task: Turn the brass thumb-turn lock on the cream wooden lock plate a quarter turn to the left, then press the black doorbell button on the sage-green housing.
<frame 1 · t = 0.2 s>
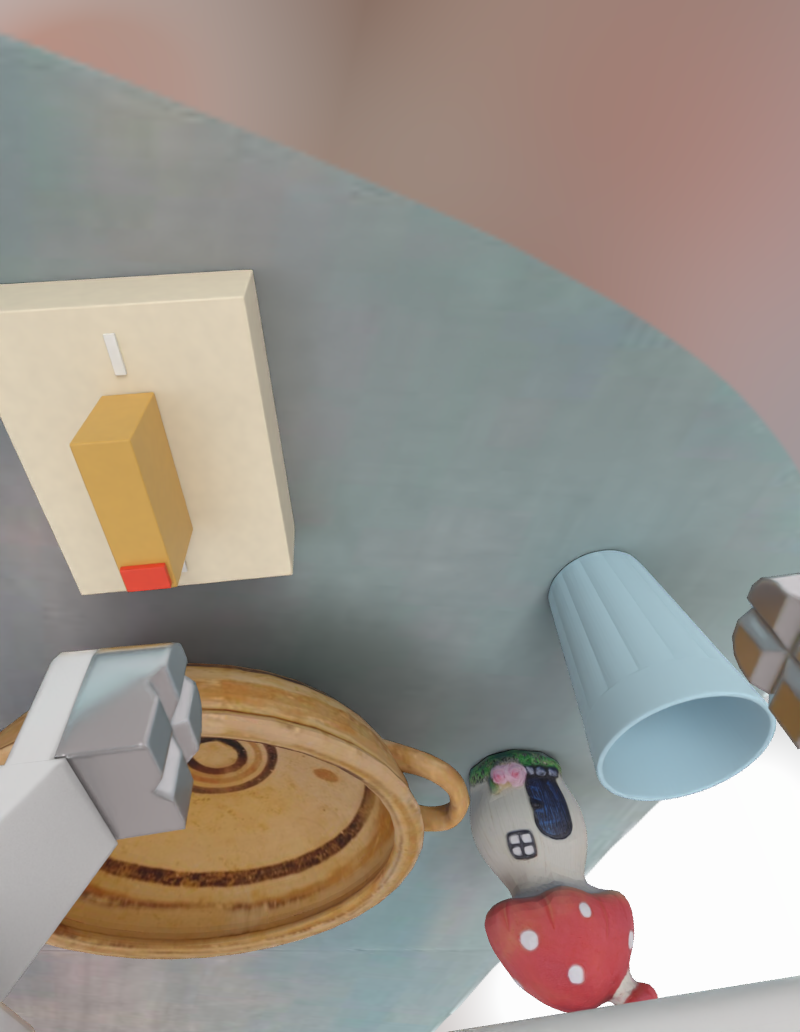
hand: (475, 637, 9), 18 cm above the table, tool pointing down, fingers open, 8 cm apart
cup: (594, 584, 34), on the table
ceramic bowl: (213, 729, 38), on the table
lock knob: (139, 495, 21), point 5 cm above the table, hinge at 0.0°
decorative ornament: (516, 771, 45), on the table
lock plate: (169, 424, 26), on the table
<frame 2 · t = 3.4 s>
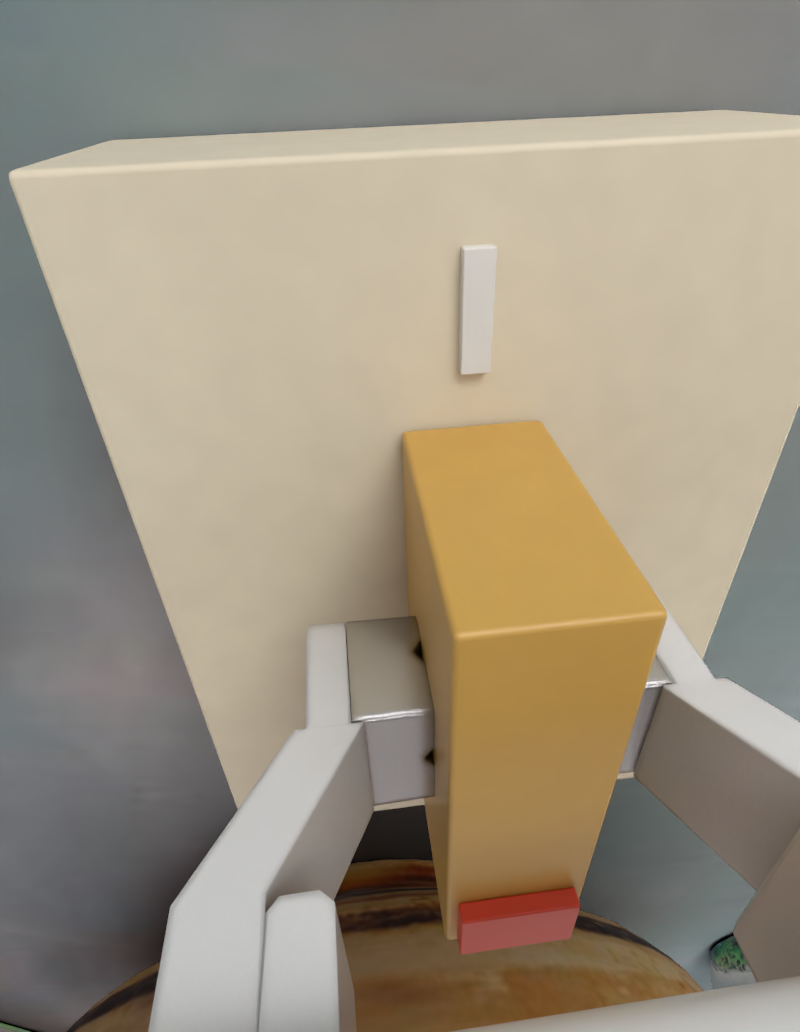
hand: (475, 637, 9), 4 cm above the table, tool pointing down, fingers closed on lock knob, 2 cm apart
ceramic bowl: (371, 921, 25), on the table
lock knob: (494, 696, 8), point 5 cm above the table, hinge at 0.0°, touching gripper
decorative ornament: (770, 939, 31), on the table
lock plate: (429, 476, 12), on the table
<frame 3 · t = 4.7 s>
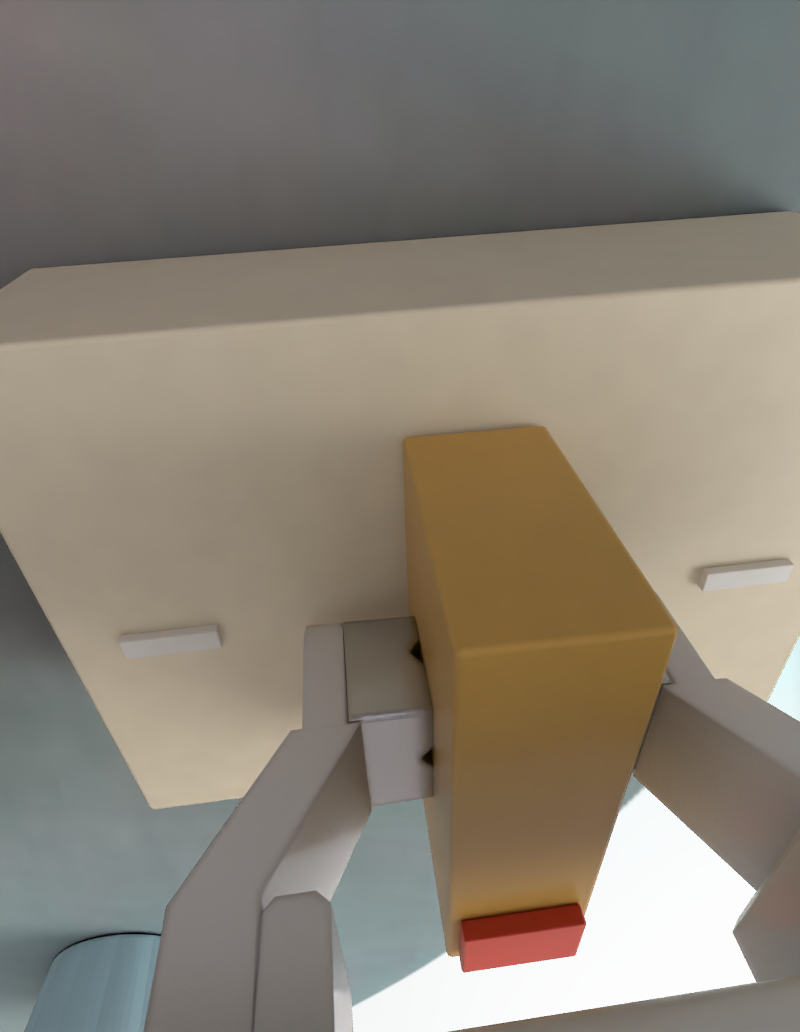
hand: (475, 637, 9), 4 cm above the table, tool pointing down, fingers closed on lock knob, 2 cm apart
cup: (131, 957, 24), on the table
lock knob: (497, 708, 8), point 5 cm above the table, hinge at 89.3°, touching gripper
lock plate: (430, 481, 12), on the table
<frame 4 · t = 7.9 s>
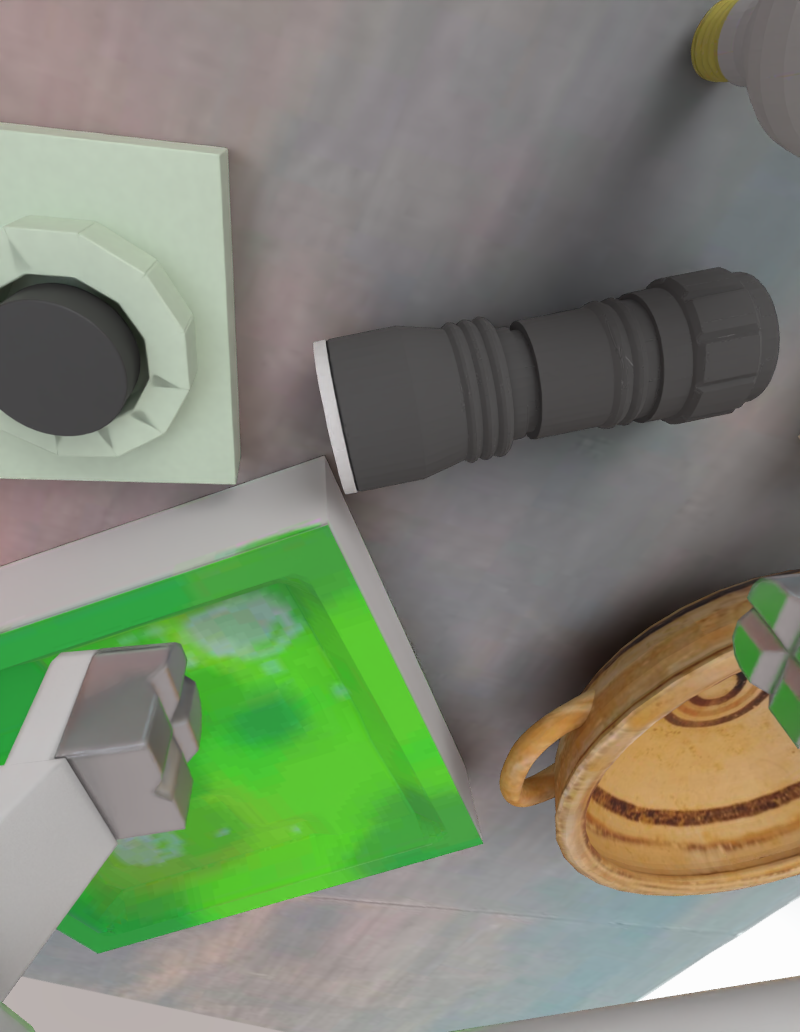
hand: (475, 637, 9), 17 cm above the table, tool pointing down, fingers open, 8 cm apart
bell button: (61, 361, 18), point 4 cm above the table, slide at 0.1 cm
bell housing: (102, 314, 21), on the table
ceramic bowl: (706, 658, 37), on the table
flashlight: (508, 353, 24), on the table
tray: (196, 709, 34), on the table
light bulb: (709, 42, 19), on the table
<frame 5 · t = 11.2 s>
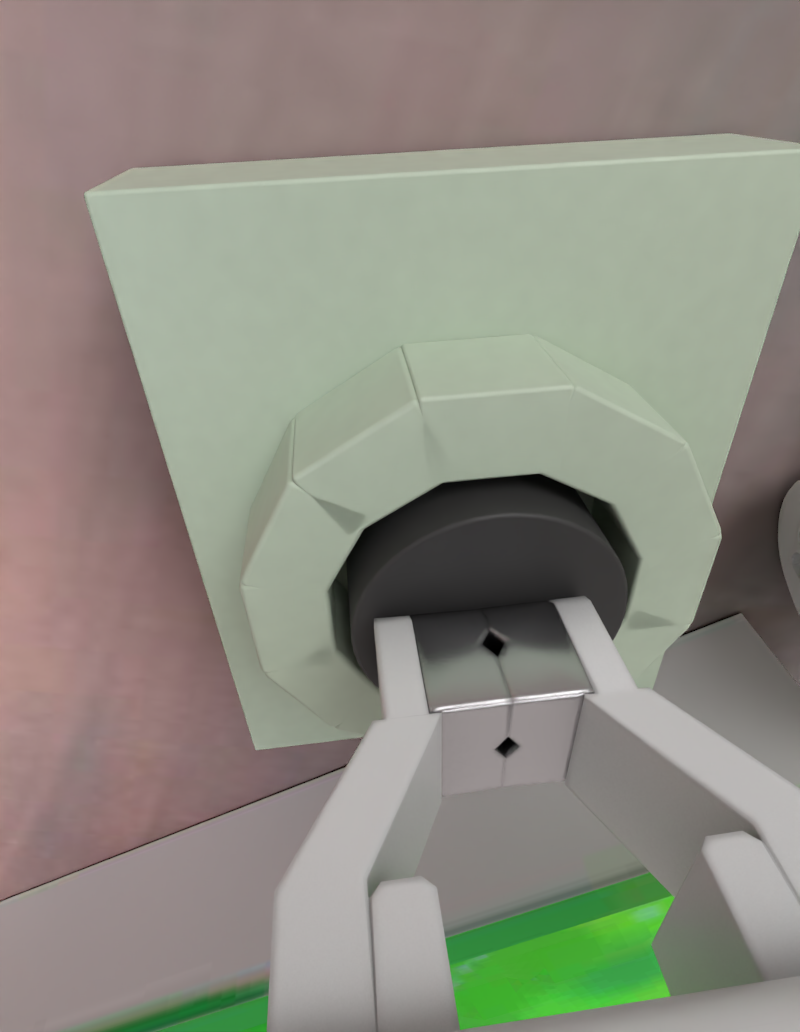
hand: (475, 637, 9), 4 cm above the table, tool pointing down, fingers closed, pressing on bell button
bell button: (478, 587, 9), point 4 cm above the table, slide at -0.8 cm, touching gripper
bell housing: (440, 467, 12), on the table
tray: (475, 908, 25), on the table
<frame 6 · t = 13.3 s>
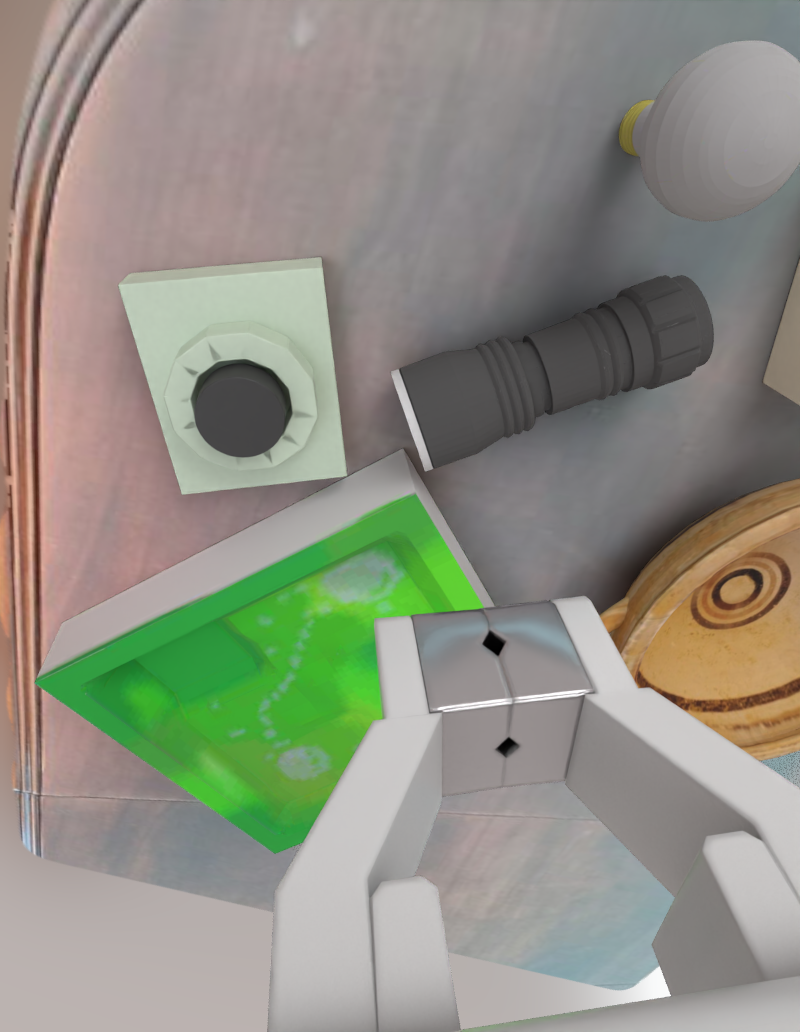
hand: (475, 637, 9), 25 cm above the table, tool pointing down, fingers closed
bell button: (241, 411, 28), point 4 cm above the table, slide at 0.1 cm
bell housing: (248, 375, 32), on the table
ceramic bowl: (727, 570, 45), on the table
flashlight: (525, 355, 34), on the table
tray: (327, 654, 45), on the table
light bulb: (632, 128, 28), on the table
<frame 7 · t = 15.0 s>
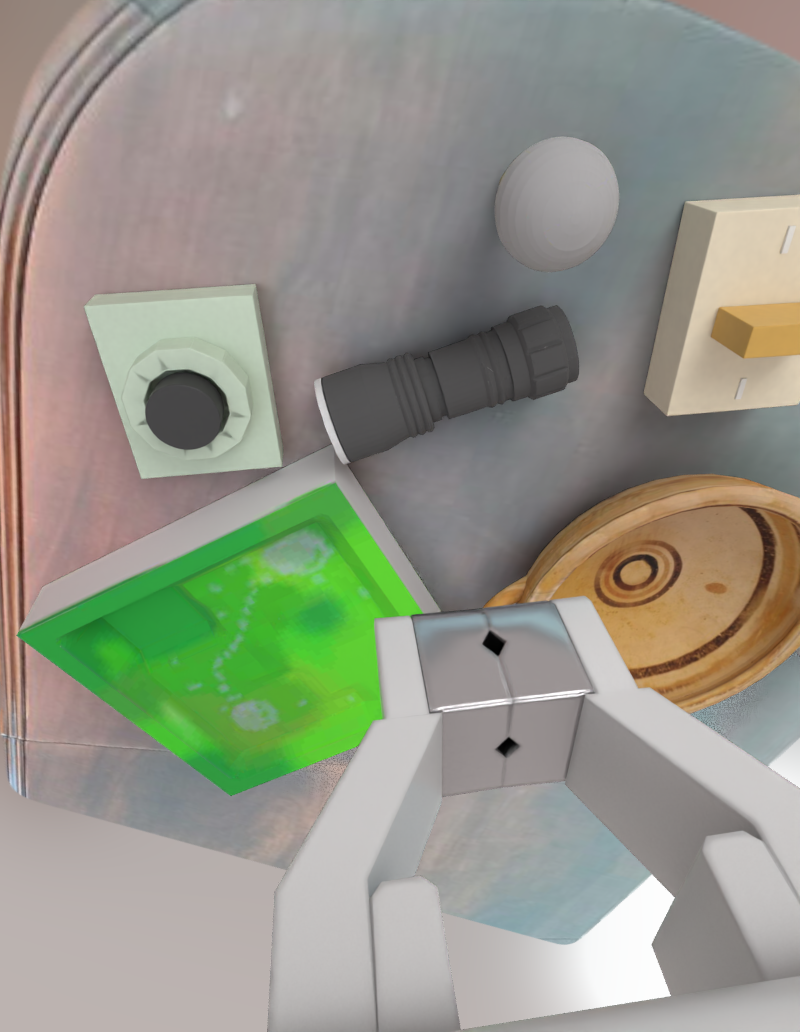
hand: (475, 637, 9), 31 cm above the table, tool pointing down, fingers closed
bell button: (185, 411, 34), point 4 cm above the table, slide at 0.1 cm
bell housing: (198, 379, 38), on the table
ceramic bowl: (629, 556, 51), on the table
lock knob: (781, 329, 35), point 5 cm above the table, hinge at 89.3°
flashlight: (435, 367, 40), on the table
tray: (276, 621, 51), on the table
light bulb: (512, 184, 34), on the table
lock plate: (729, 301, 39), on the table
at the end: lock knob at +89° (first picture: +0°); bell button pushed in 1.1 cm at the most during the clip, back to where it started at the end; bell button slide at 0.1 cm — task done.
